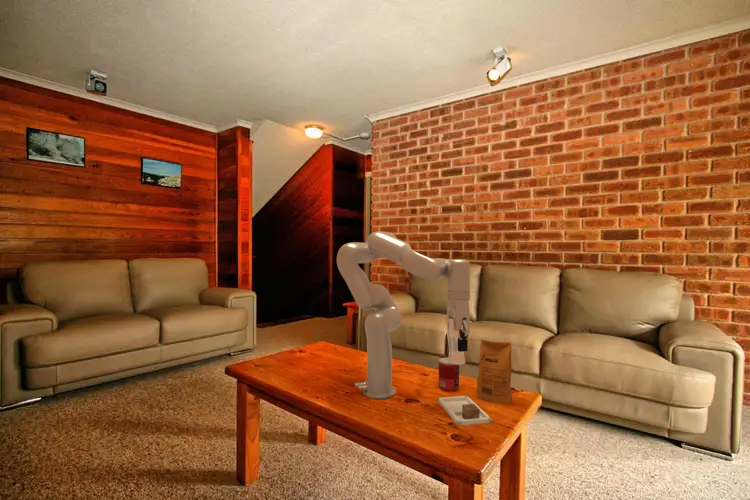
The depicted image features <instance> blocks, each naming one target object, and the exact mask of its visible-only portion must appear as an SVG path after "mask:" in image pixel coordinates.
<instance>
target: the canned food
mask: <svg viewBox="0 0 750 500" xmlns="http://www.w3.org/2000/svg"><path fill="white" fill-rule="evenodd" d="M438 388H439V389H440V390H442V391H444V392H456V391H458V390H459V388H460V365H457V364H452V363H449V362H448V357H442V358H439V359H438Z"/></svg>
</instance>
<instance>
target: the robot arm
mask: <svg viewBox="0 0 750 500" xmlns="http://www.w3.org/2000/svg"><path fill="white" fill-rule="evenodd" d="M381 258H385V259H387V260H389V261H391V262H394V263H395V264H397V265H399V266H400V268H402V269H403V270H405V271H406V272H408V273H410V274H412V275H414V276H416V277H418V278H420V279H422V280H425V281H429V282H434V281H439V280H440V281H441V280H445V279H447V282H446V283H447V285H446V288H447V291H446V292H447V295H446V296H447V300H446V301H447V302H446V303H447V305H446V320H445V324H446V325H447V321H448V317H449V318H451V319H453V330H455V331H459V333H458V336H459V339H458V351H459V352H464V351H465V352H468V347H469V346H468V342H469V341H468V340H469V334H470V326H471V322H470V321H471V317H470V316H471V315H470V314H471V313H470V303H469V302H470V301H471V263H470V261H469V260H468V259H465V258H464V259H462V258H460V259H459V258H456V259H455V258H454V259H446V258H440V257H437V258H431V257H428V256H426V255H424V254H420V253H418V252H417V251H415V250H414V249H412V247H411V245H410V243H409V242H406V241H403V240H401V239H399V238H397V236H396V235H395V234H394V233H392V232H388V231H377V230H376V231H374V232H372V233H370V234H369V236H367V239H366V242H358V241H357V242H355V241H353V242H347V243H345V244H343V245H342V246H340V248H339V250H338V252H337V255H336V265H337V268H338V271H339V273H340V275H341V276H342V278H343V280H344V281H345V283H346V284H347V286H348V287H347V288H348V289H349V291H350V292H351V293H350V294H351V295H352V297H353V299H354V301H355V304H357V306H358V308H359V309H361V310H363V311H369V310H373V309H374V311H372V312H370V313H369V314H368V315H367V316H366V318H365V320H364V330H365V337H366V358H367V359H366V371H367V372H366V378H365V381H362V382H354V388H355V389H358V390H360V391H362V392H363V396H365V397H368V398H369V399H370V398H371V399H379V400H383V399H389V398H392V397H394V396H395V395H396V394H397V389H396V388H395V387H394V386H393V352H392V351H393V347H392V346H393V344H392V340H391V337H390V333H392V332H393V331H396V330H397V329H399V328H400V326H401V324H402V319H403V318H402V314H401V312H400V309H399V307H397V304H396V303H395V301H394V299H393V297H392V295H391V294H390V291H389V290H388V289H387V288H386V287H385V286H383V285H382V284H379V283H378V284H376V283H375V284H372V282H371V281H370V280H369V278H368V276H367V274H366V272H365V271H364V270H363V269H362V267H360V266H359V264H368V263H371V262H374V261H377V260H379V259H381ZM462 325H463V328H464V330H460V328H461V326H462ZM461 332H464V333H462V335H461Z"/></svg>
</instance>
